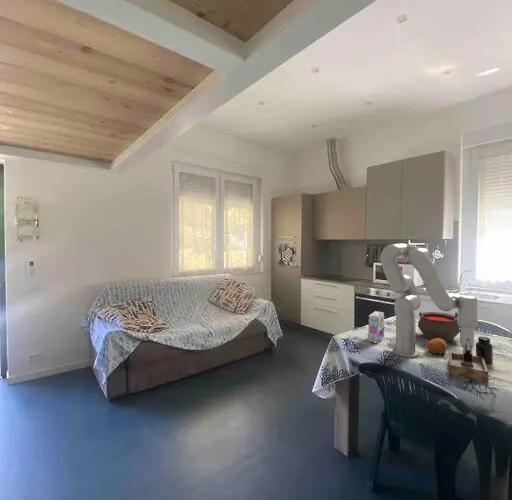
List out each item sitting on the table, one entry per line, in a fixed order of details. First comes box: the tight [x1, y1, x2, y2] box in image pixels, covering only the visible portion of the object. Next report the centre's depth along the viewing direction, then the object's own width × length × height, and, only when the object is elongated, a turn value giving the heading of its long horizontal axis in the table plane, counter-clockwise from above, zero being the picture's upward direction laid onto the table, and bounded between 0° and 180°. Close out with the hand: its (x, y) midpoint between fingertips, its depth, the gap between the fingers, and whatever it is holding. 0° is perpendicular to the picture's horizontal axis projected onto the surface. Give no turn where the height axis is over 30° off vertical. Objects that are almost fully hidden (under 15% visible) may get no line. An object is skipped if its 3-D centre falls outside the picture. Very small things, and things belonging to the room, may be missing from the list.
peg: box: [462, 340, 472, 366], centre depth 144 cm, size 4×4×11 cm
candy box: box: [367, 310, 385, 344], centre depth 186 cm, size 14×6×16 cm, turn 143°
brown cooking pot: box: [417, 311, 460, 343], centre depth 187 cm, size 24×24×16 cm
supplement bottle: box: [475, 336, 494, 365], centre depth 152 cm, size 7×7×12 cm
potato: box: [425, 338, 448, 354], centre depth 165 cm, size 9×11×8 cm
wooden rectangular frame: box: [448, 351, 489, 382], centre depth 143 cm, size 14×18×4 cm
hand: (467, 359), depth 144 cm, fingers closed on peg, 3 cm apart
